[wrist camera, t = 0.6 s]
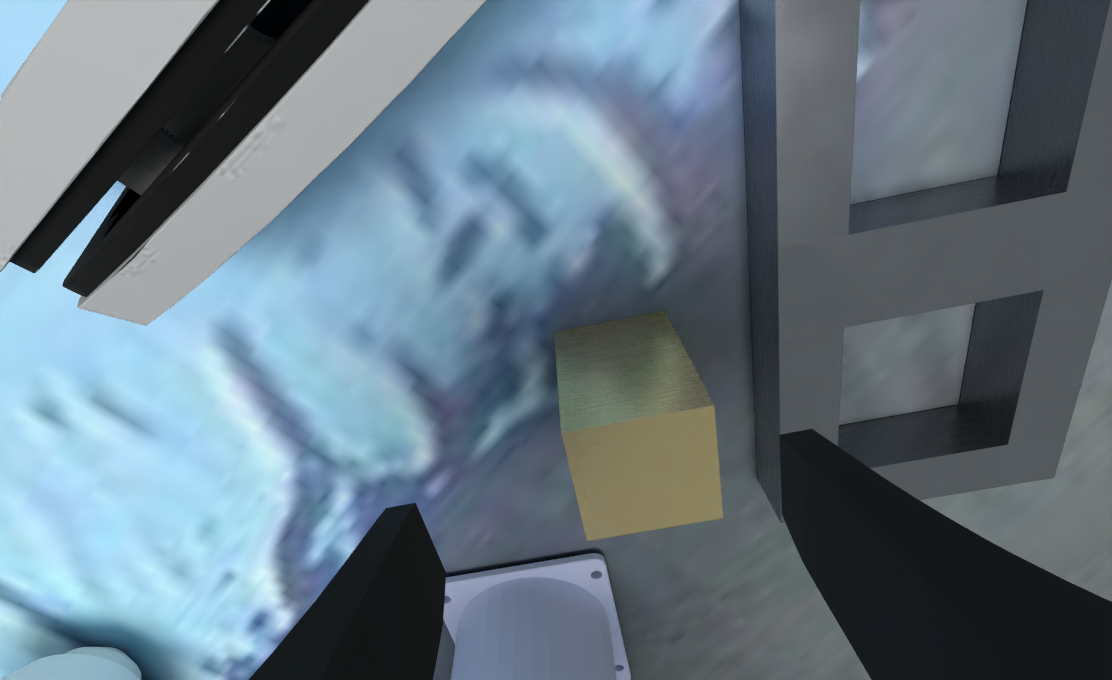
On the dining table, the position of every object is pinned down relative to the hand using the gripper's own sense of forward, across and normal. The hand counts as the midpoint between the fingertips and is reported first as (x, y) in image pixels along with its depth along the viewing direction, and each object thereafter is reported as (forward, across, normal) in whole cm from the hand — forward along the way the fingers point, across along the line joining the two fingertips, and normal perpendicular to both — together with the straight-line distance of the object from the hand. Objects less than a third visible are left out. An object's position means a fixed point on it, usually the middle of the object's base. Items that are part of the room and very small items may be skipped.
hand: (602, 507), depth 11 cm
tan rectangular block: (+10, -1, +3) cm, 10 cm away
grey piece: (+10, +5, -11) cm, 15 cm away
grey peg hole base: (+9, -11, 0) cm, 15 cm away
